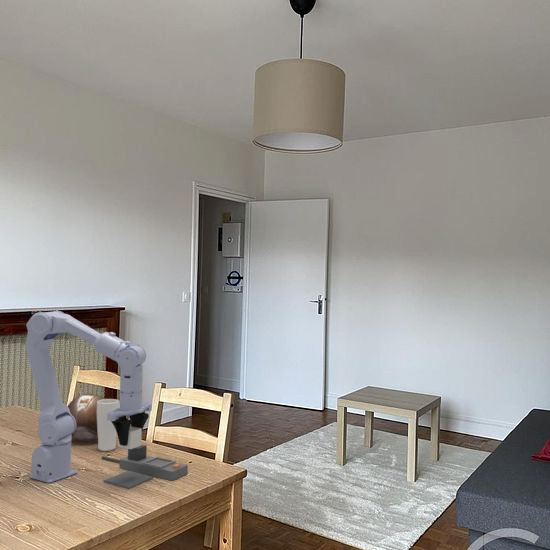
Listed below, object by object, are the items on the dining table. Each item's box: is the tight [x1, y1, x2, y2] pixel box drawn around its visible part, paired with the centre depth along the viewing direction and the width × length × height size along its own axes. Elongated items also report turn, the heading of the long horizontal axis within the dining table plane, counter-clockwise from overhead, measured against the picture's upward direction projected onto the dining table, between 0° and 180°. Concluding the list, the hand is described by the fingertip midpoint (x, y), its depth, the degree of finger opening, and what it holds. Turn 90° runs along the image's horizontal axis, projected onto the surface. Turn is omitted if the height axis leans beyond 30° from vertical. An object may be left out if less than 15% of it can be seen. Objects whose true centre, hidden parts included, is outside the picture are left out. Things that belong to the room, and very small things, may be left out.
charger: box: [117, 425, 143, 450], centre depth 147 cm, size 4×4×4 cm
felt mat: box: [103, 470, 154, 490], centre depth 147 cm, size 9×9×1 cm
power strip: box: [101, 443, 189, 482], centre depth 157 cm, size 6×29×6 cm, turn 61°
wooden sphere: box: [66, 393, 105, 442], centre depth 183 cm, size 15×15×15 cm
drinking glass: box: [97, 398, 120, 452], centre depth 174 cm, size 7×7×15 cm
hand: (129, 442), depth 147 cm, fingers closed on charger, 4 cm apart
